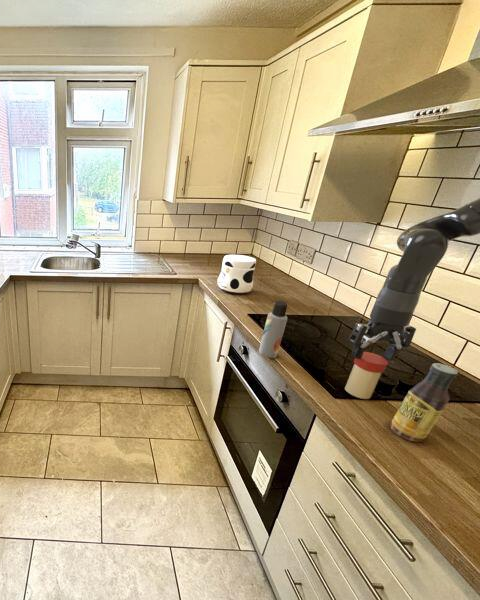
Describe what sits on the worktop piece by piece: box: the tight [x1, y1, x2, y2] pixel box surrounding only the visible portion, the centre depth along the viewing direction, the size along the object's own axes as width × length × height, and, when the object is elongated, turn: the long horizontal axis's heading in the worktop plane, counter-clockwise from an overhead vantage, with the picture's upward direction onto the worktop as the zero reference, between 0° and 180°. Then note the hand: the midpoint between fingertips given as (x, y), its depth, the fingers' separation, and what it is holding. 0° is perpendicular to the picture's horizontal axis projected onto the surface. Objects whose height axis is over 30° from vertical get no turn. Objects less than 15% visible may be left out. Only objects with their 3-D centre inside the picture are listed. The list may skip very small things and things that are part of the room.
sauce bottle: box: [389, 362, 459, 443], centre depth 74 cm, size 7×6×20 cm
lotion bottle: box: [258, 300, 289, 359], centre depth 108 cm, size 6×6×20 cm
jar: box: [344, 362, 382, 400], centre depth 90 cm, size 6×6×11 cm
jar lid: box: [353, 351, 389, 374], centre depth 88 cm, size 7×7×3 cm
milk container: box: [217, 254, 257, 295], centre depth 167 cm, size 17×17×18 cm
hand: (371, 358), depth 88 cm, fingers open, 8 cm apart
